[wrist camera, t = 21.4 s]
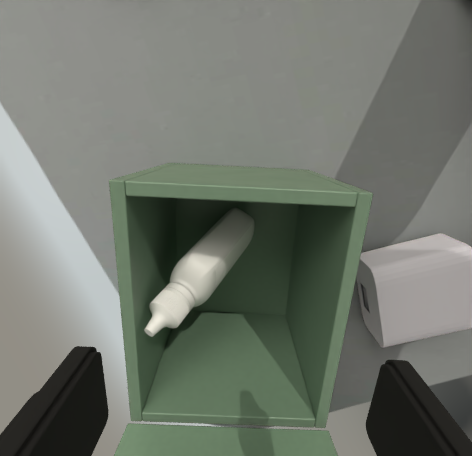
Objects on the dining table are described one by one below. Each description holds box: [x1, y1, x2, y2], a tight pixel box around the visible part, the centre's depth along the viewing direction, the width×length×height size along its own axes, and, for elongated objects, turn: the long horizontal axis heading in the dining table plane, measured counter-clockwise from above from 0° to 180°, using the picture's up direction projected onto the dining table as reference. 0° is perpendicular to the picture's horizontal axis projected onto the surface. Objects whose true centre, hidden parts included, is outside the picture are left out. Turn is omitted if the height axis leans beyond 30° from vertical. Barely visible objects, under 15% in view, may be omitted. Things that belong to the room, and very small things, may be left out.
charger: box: [356, 233, 472, 348], centre depth 27 cm, size 5×9×15 cm
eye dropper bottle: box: [144, 208, 254, 337], centre depth 21 cm, size 4×6×12 cm
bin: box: [109, 163, 373, 428], centre depth 22 cm, size 17×14×13 cm
